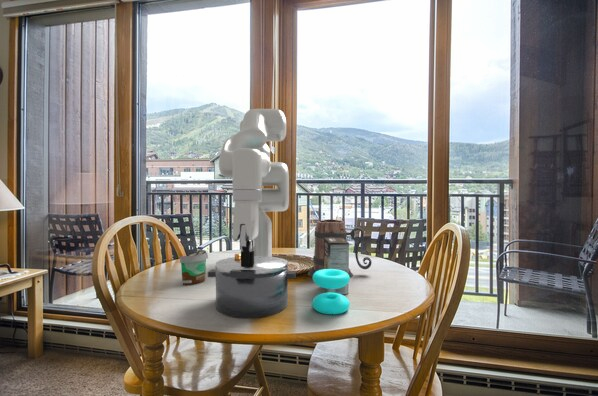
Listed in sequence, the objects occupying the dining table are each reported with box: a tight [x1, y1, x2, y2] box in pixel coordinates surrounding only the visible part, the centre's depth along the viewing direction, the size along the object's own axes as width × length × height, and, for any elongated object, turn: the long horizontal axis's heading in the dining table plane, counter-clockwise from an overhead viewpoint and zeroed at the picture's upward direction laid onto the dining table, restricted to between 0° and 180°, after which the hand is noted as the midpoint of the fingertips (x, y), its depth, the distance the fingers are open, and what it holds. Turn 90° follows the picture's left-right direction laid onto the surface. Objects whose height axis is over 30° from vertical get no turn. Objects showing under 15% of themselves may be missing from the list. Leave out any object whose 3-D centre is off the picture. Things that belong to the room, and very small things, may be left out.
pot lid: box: [215, 253, 289, 276], centre depth 92 cm, size 22×20×3 cm
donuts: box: [312, 269, 351, 315], centre depth 89 cm, size 10×10×10 cm
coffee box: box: [324, 238, 350, 295], centre depth 105 cm, size 9×6×16 cm
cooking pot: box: [207, 266, 297, 319], centre depth 93 cm, size 20×24×10 cm
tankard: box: [307, 219, 373, 279], centre depth 123 cm, size 24×17×20 cm
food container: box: [179, 248, 209, 286], centre depth 113 cm, size 12×6×10 cm, turn 168°
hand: (247, 266), depth 87 cm, fingers closed
